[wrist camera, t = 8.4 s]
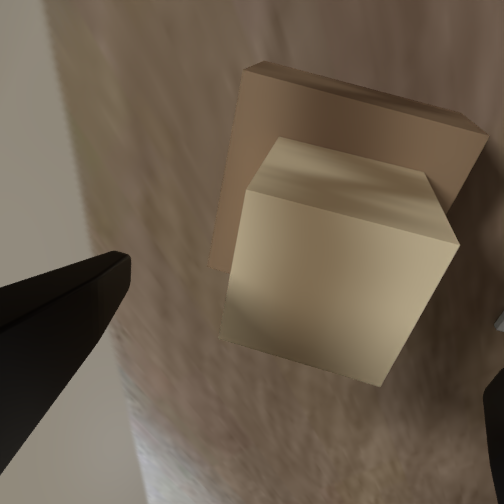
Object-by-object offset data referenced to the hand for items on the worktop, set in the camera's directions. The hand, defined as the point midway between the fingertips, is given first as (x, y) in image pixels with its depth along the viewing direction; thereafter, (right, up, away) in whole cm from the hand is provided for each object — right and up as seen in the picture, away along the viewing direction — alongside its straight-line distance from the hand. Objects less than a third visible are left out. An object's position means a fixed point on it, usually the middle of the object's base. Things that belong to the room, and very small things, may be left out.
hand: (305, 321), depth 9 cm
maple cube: (+2, +3, +5) cm, 6 cm away
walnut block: (+2, +5, +9) cm, 10 cm away
